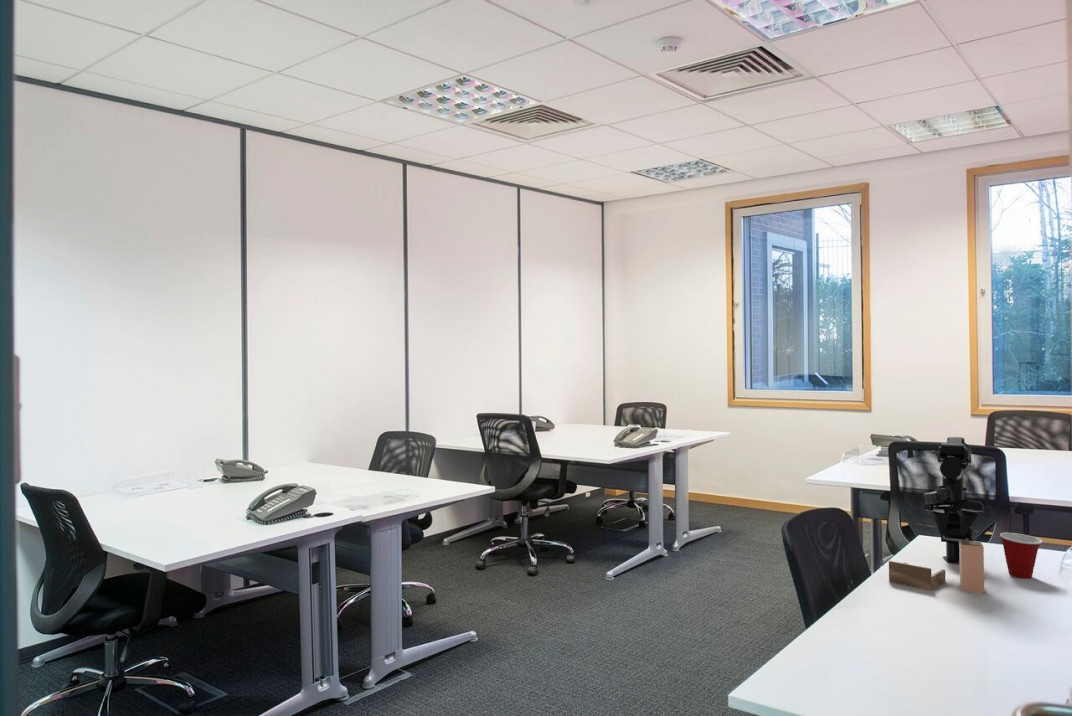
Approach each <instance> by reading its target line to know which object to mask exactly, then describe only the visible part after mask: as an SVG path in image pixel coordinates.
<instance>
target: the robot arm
mask: <svg viewBox="0 0 1072 716" xmlns="http://www.w3.org/2000/svg"><path fill="white" fill-rule="evenodd" d="M946 439H947V440H946V441H947V442H941V445H940V446H938V455H937V462H938V463H940V466H939V472H940V473H941V479H942V480H941V481H942V482H941V483H942V484H941V485H939V486H938V487H937V489H936V491H930V492H925V493H923V497H924V500H925V503H924V504H923V505H924V506H923V509H924V511H926V513H928V514H930V515H931V516H932V517H933V519H934V522H935V523H936V527H937V530H938V533H939V535H940V542H941V543H946V544H945V551H946V552H945V553H946V555H943V556H942V558H943V560H945V562H947V563H949V564H950V563H952V564H960V560H959V541H961V540H964V541H974V530H973V529H972V527H971V526H972V525H973V523H974V522H975V520H976V519H977V517H978V516H980V515H981V513H980V512H983V513H984V504H983V503H982V502H981V501H977V500H973V499H972V500H970V499H964V492H967V491H968V490H967V489H968V488H967V487H964V485H965V484H964V477H965V475H966V474H967V473H968V472H969V470H970V464H972V448H971V446H970V445H969V444H968V443H966V441H965V437H961V436H949V437H947V438H946Z"/></svg>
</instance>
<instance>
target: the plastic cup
mask: <svg viewBox="0 0 1072 716" xmlns="http://www.w3.org/2000/svg"><path fill="white" fill-rule="evenodd" d="M999 537H1000V538H1001V542H1002V546H1003V552H1004V558H1005V562H1006V566H1007V571H1008V575H1009V576H1010V577H1014V578H1017V579H1027V580H1028V579H1032V576H1033V575H1034V574H1033V573H1034V568H1035V565H1036V560H1037V556H1038V555H1037V554H1038V551H1039V548H1040V546H1041V544H1042V543H1043V541H1042V539H1040V538H1038V537H1036V536H1032V535H1028V534H1023V533H1015V532H1000V534H999Z"/></svg>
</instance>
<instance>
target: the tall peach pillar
mask: <svg viewBox="0 0 1072 716" xmlns="http://www.w3.org/2000/svg"><path fill="white" fill-rule="evenodd" d="M984 550H985V549H984V545H983V543H982V542H981V541H976V540H973V541H964V540H961V541H959V560H960V563H959V588H960V590H961V591H962V592H967V593H968V592H971V593H978V594H980V593H981V594H985V561H984V560H985V555H984V553H985V551H984Z"/></svg>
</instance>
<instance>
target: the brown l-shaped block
mask: <svg viewBox="0 0 1072 716" xmlns="http://www.w3.org/2000/svg"><path fill="white" fill-rule="evenodd" d="M889 581H890V583H895V584H899V583H900V584H899V585H903V584H904V585H903V586H908V585H909V587H914V588H918V589H919V588H920V589H923V590H929V591H932V590H933V589H935V588H937V587H938V586H940V585H942V584H944V583H946V569H943V568H942V569H941V570H939V571H936V572H934V573H933V574H932V568H931V567H925V566H921V565H916V564H915V565H914V564H909V563H908V562H897V561H892V560H889V561H888V582H889Z"/></svg>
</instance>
